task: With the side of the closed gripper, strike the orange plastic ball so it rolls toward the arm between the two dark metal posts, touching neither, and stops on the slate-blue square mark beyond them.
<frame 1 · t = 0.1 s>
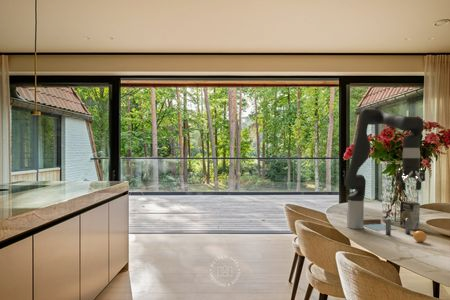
hand: (410, 190, 161), 29 cm above the table, tool pointing down, fingers open, 8 cm apart
coffee box: (409, 228, 206), on the table
stopper: (367, 223, 216), on the table
post 1: (388, 234, 188), on the table
ball: (419, 236, 173), on the table
post 2: (407, 233, 190), on the table
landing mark: (378, 227, 206), on the table
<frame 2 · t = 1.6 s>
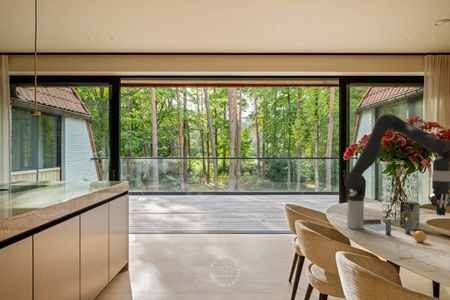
hand: (440, 215, 161), 17 cm above the table, tool pointing down, fingers closed
nothing on the table moved.
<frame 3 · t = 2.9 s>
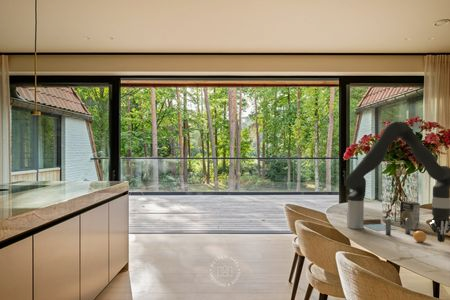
hand: (441, 241, 160), 4 cm above the table, tool pointing down, fingers closed
nothing on the table moved.
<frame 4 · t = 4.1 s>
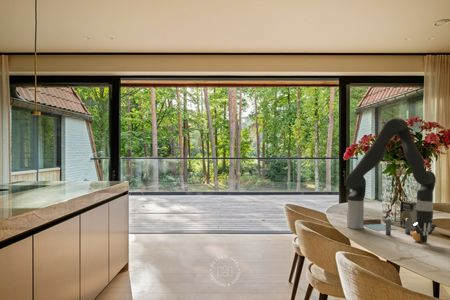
hand: (423, 242, 170), 1 cm above the table, tool pointing down, fingers closed
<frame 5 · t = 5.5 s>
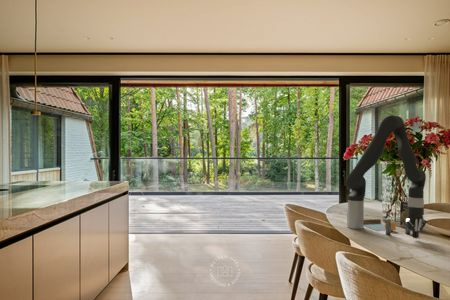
hand: (415, 237, 176), 2 cm above the table, tool pointing down, fingers closed
ball: (390, 226, 197), on the table
everything else where it was.
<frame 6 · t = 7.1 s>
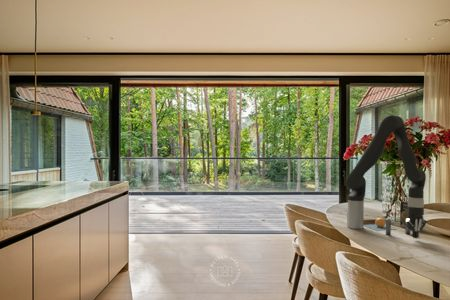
hand: (415, 237, 176), 2 cm above the table, tool pointing down, fingers closed
ball: (380, 222, 206), on the table
everything else where it was.
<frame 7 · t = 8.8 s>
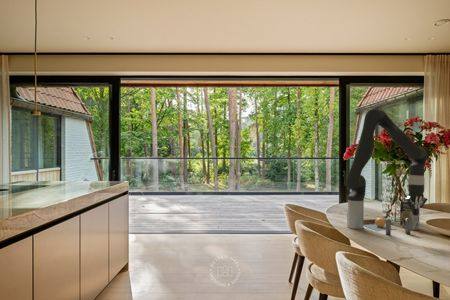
hand: (415, 215, 176), 14 cm above the table, tool pointing down, fingers closed
nothing on the table moved.
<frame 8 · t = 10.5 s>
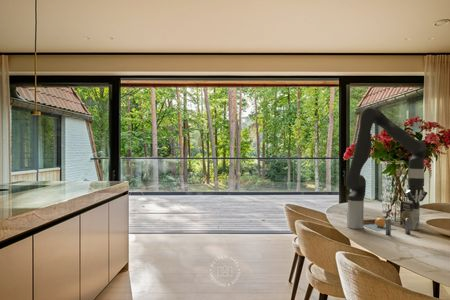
hand: (415, 209, 176), 17 cm above the table, tool pointing down, fingers closed
nothing on the table moved.
at the end: ball 1.1 cm from the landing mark (horizontally); ball never touched post 2; ball never touched post 1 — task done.
